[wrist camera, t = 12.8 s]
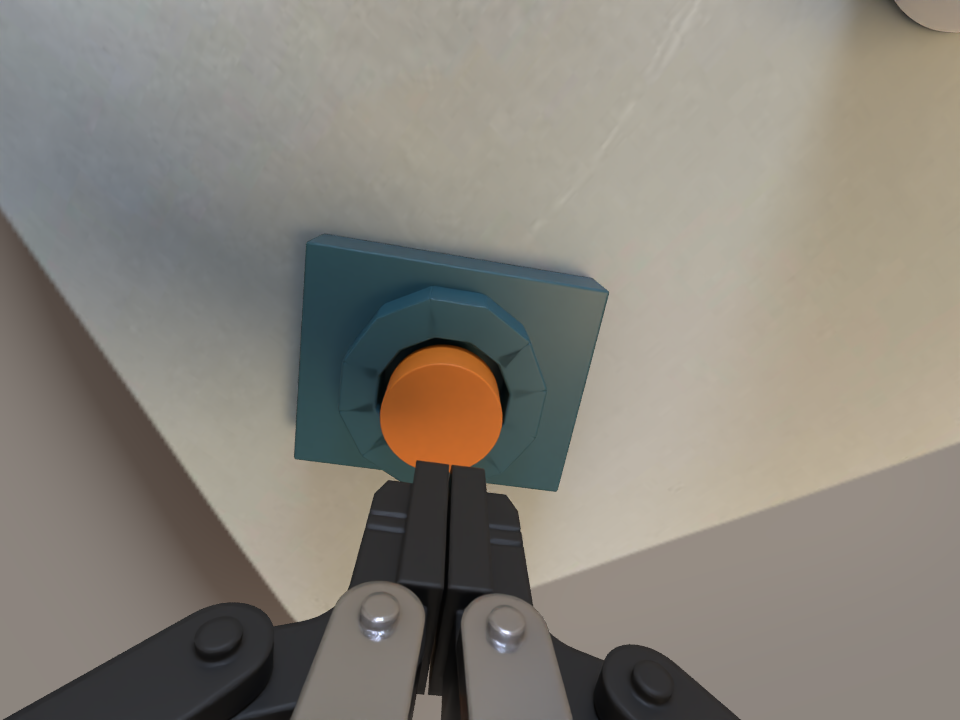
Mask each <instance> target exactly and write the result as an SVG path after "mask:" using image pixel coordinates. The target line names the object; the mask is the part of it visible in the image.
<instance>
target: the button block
mask: <svg viewBox="0 0 960 720" xmlns="http://www.w3.org/2000/svg"><path fill="white" fill-rule="evenodd" d="M608 295H609V291H607V290H606V289H605V288H604V287H603V286H601V285H600V284H599V283H598V282H596V281H595V280H594V279H593V278H587V277H581V276H575V275H569V274H563V273H557V272H551V271H545V270H539V269H533V268H527V267H521V266H515V265H509V264H503V263H497V262H491V261H485V260H479V259H473V258H467V257H461V256H455V255H449V254H443V253H437V252H431V251H425V250H419V249H413V248H407V247H401V246H395V245H389V244H383V243H377V242H371V241H365V240H359V239H353V238H347V237H341V236H335V235H329V234H322V235H320V236H318V237H316V238H314V239H312V240H310V241H308V242H307V243H306V255H305V272H304V290H303V308H302V326H301V343H300V361H299V379H298V397H297V415H296V432H295V450H294V458H295V459H299V460H307V461H315V462H323V463H330V464H338V465H346V466H354V467H362V468H370V469H378V470H383V471H385V472H386V473H388V474H389V475H391V476H392V477H394V478H395V479H397V480H399V481H400V482H407V483H413V479H414V473H415V467H413V466H411V465H409V464H407V463H406V462H404V461H403V460H401V459H400V458H399V457H398V456H397V455H396V454H395V453H394V452H393V451H392V450H391V448H390V447H389V446H388V444H387V442H386V441H385V438H384V436H383V434H382V430H381V426H380V410H381V404H382V401H383V398H384V395H385V392H386V389H387V386H388V383H389V380H390V377H391V375H392V373H393V371H394V370H395V368H396V367H397V365H398V364H399V363H400V362H401V361H402V360H403V359H404V358H405V357H407V356H408V355H409V354H411V353H412V352H414V351H416V350H418V349H421V348H423V347H427V346H431V345H441V344H445V345H453V346H458V347H461V348H464V349H467V350H469V351H471V352H473V353H474V354H476V355H477V356H479V357H480V358H481V359H482V360H483V361H484V362H485V363H486V364H487V365H488V366H489V368H490V369H491V371H492V373H493V375H494V377H495V379H496V382H497V386H498V391H499V397H500V403H501V408H502V428H501V432H500V435H499V437H498V440H497V442H496V443H495V445H494V447H493V448H492V449H491V451H490V452H489V453H488V454H487V455H486V456H485V457H484V458H483V459H481V460H480V461H479V462H477V463H476V464H474V465H472V466H470V467H475V468H483V469H485V477H486V483H490V484H498V485H506V486H514V487H522V488H530V489H538V490H546V491H554V492H556V491H557V490H558V487H559V483H560V479H561V475H562V471H563V467H564V464H565V460H566V456H567V452H568V448H569V444H570V441H571V437H572V433H573V429H574V425H575V422H576V418H577V414H578V410H579V406H580V402H581V399H582V395H583V391H584V387H585V383H586V379H587V376H588V372H589V368H590V364H591V360H592V356H593V353H594V349H595V345H596V341H597V337H598V334H599V330H600V326H601V322H602V318H603V314H604V311H605V307H606V303H607V299H608ZM449 474H450V473H449Z"/></svg>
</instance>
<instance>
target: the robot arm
mask: <svg viewBox="0 0 960 720" xmlns="http://www.w3.org/2000/svg"><path fill="white" fill-rule="evenodd" d="M520 529H521V528H520V522H519V515H518V511H517V509H516V508H515V507H514V505H513V504H512V502H511V501H510V500H509V498H508V497H507V496H506V495H504V494H496V493H488V492H487V491H486V477H485V469H483V468H475V467H467V466H460V465H451V469H450V474H449V464H443V463H435V462H428V461H420V460H416V466H415V473H414V479H413V483H407V482H399V481H391V480H388V481H387V482H386V483H385V484H384V485H383V486H382V487H381V488H380V489H379V490H378V491H377V492H376V493H375V494H374V497H373V501H372V505H371V508H370V513H369V516H368V519H367V523H366V528H365V531H364V534H363V538H362V542H361V545H360V549H359V553H358V556H357V560H356V564H355V567H354V571H353V575H352V579H351V582H350V585H349V588H348V591H347V592H345V593H344V594H343V595H342V596H341V597H340V599H339V600H338V601H337V603H336V605H335V606H334V607H333V608H332V609H330V610H329V611H327V612H326V613H324V614H322V615H320V616H318V617H315V618H312V619H309V620H305V621H301V622H296V623H290V624H285V625H279V626H273V624H272V622H271V620H270V618H269V617H268V616H267V615H266V614H265V613H264V612H263V611H262V610H261V609H258V608H257V607H255V606H251V605H249V604H245V603H221V604H216V605H212V606H209V607H206V608H203V609H201V610H199V611H197V612H195V613H193V614H191V615H189V616H187V617H185V618H184V619H182V620H180V621H178V622H177V623H175V624H173V625H171V626H169V627H168V628H166V629H164V630H162V631H160V632H159V633H157V634H155V635H153V636H152V637H150V638H148V639H146V640H144V641H143V642H141V643H139V644H137V645H136V646H134V647H132V648H130V649H128V650H127V651H125V652H123V653H121V654H119V655H118V656H116V657H114V658H112V659H111V660H109V661H107V662H105V663H103V664H102V665H100V666H98V667H96V668H94V669H93V670H91V671H89V672H87V673H86V674H84V675H82V676H80V677H78V678H77V679H75V680H73V681H71V682H70V683H68V684H66V685H64V686H62V687H60V688H59V689H57V690H55V691H53V692H51V693H50V694H48V695H46V696H44V697H43V698H41V699H39V700H37V701H35V702H34V703H32V704H30V705H28V706H26V707H25V708H23V709H21V710H19V711H18V712H16V713H14V714H12V715H10V716H9V717H7V718H5V719H3V720H412V717H413V711H414V705H415V700H416V694H423V695H424V692H425V687H426V681H427V676H428V670H429V665H430V673H429V688H428V695H438V696H442V711H441V720H740V719H739V718H738V717H737V716H736V715H735V714H734V713H732V712H731V711H730V710H729V709H728V708H727V707H725V706H724V705H723V704H722V703H721V702H720V701H718V700H717V699H716V698H715V697H714V696H713V695H711V694H710V693H709V692H708V691H707V690H706V689H704V688H703V687H702V686H701V685H700V684H699V683H698V682H696V681H695V680H694V679H693V678H691V676H689V675H688V674H687V673H686V672H685V671H684V670H682V669H681V668H680V667H679V666H678V665H676V664H675V663H674V662H673V661H672V660H670V659H669V658H668V657H666V656H664V655H663V654H661V653H659V652H657V651H655V650H653V649H651V648H648V647H644V646H640V645H630V644H629V645H622V646H619V647H616V648H615V649H613V650H611V652H609V654H607V656H606V658H605V660H601V659H599V658H596V657H594V656H591V655H589V654H586V653H584V652H581V651H579V650H576V649H574V648H572V647H570V646H567V645H566V644H564V643H563V642H561V641H559V640H558V639H557V638H555V637H554V636H553V635H552V634H551V633H550V632H549V630H548V627H547V624H546V622H545V620H544V618H543V617H542V616H541V614H540V613H539V612H538V611H537V610H536V609H535V608H534V607H533V604H532V596H531V590H530V584H529V578H528V572H527V565H526V559H525V553H524V547H523V540H522V534H521V532H520Z"/></svg>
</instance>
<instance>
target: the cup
mask: <svg viewBox="0 0 960 720" xmlns="http://www.w3.org/2000/svg"><path fill="white" fill-rule="evenodd" d="M894 1H895V2H896V3H897V5H898V6H899V7H900V8H901V10H902V11H903V12H904V13H905V14H906V15H908V16H909V17H910V18H911V19H913V20H914V21H915V22H917V23H919V24H921V25H923V26H925V27H928V28H930V29H933V30H937V31H942V32H960V0H894Z"/></svg>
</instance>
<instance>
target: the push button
mask: <svg viewBox="0 0 960 720" xmlns="http://www.w3.org/2000/svg"><path fill="white" fill-rule="evenodd" d="M380 426H381V430H382V434H383V436H384V438H385V441H386V442H387V444H388V446H389V447H390V448H391V450H392V451H393V452H394V453H395V454H396V455H397V456H398V457H399V458H400V459H401V460H403V461H404V462H406V463H407V464H409V465H411V466H413V467H415V466H416V460H420V461H428V462H435V463H443V464H449V473H450V469H451V465H460V466H467V467H470V466H472V465H474V464H476V463H477V462H479V461H480V460H481V459H483V458H484V457H485V456H486V455H487V454H488V453H489V452H490V451H491V449H492V448H493V447H494V445H495V443H496V442H497V440H498V437H499V435H500V432H501V428H502V408H501V403H500V397H499V391H498V386H497V382H496V379H495V377H494V375H493V373H492V371H491V369H490V368H489V366H488V365H487V364H486V363H485V362H484V361H483V360H482V359H481V358H480V357H479V356H477V355H476V354H474V353H473V352H471V351H469V350H467V349H464V348H461V347H458V346H453V345H445V344H441V345H431V346H427V347H423V348H421V349H418V350H416V351H414V352H412V353H411V354H409V355H408V356H407V357H405V358H404V359H403V360H402V361H401V362H400V363H399V364H398V365H397V367H396V368H395V370H394V371H393V373H392V375H391V377H390V380H389V383H388V386H387V389H386V392H385V395H384V398H383V401H382V404H381V410H380Z"/></svg>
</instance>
